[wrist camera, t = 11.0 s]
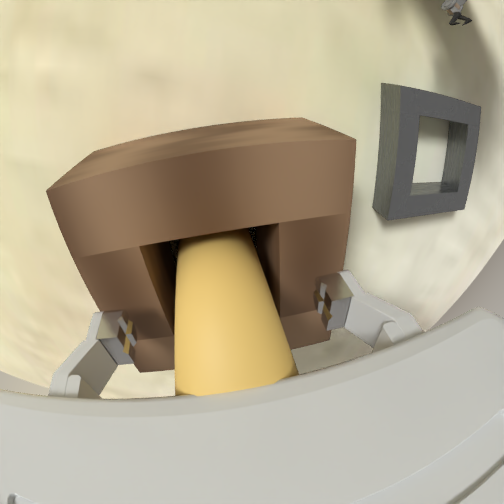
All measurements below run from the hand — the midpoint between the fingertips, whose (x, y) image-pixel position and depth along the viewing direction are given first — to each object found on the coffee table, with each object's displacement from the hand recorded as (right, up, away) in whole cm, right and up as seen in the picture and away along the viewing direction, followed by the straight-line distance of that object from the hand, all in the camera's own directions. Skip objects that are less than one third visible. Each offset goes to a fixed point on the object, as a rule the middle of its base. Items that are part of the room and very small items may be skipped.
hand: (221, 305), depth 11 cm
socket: (-1, +4, +6) cm, 7 cm away
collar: (+14, +10, +5) cm, 18 cm away
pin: (-1, +4, +6) cm, 7 cm away
